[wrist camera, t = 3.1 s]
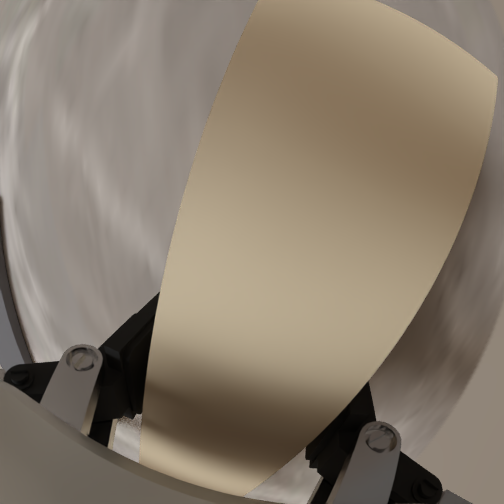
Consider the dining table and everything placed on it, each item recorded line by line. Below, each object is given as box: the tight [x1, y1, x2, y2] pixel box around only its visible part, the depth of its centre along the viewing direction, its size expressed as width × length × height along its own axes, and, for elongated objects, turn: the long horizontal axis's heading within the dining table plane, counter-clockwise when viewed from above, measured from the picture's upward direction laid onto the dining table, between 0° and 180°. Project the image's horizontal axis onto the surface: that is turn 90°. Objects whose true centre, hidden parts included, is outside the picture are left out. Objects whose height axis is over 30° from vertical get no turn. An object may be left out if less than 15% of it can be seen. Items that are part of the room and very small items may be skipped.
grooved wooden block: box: [139, 0, 498, 497], centre depth 9 cm, size 20×4×6 cm, turn 161°
